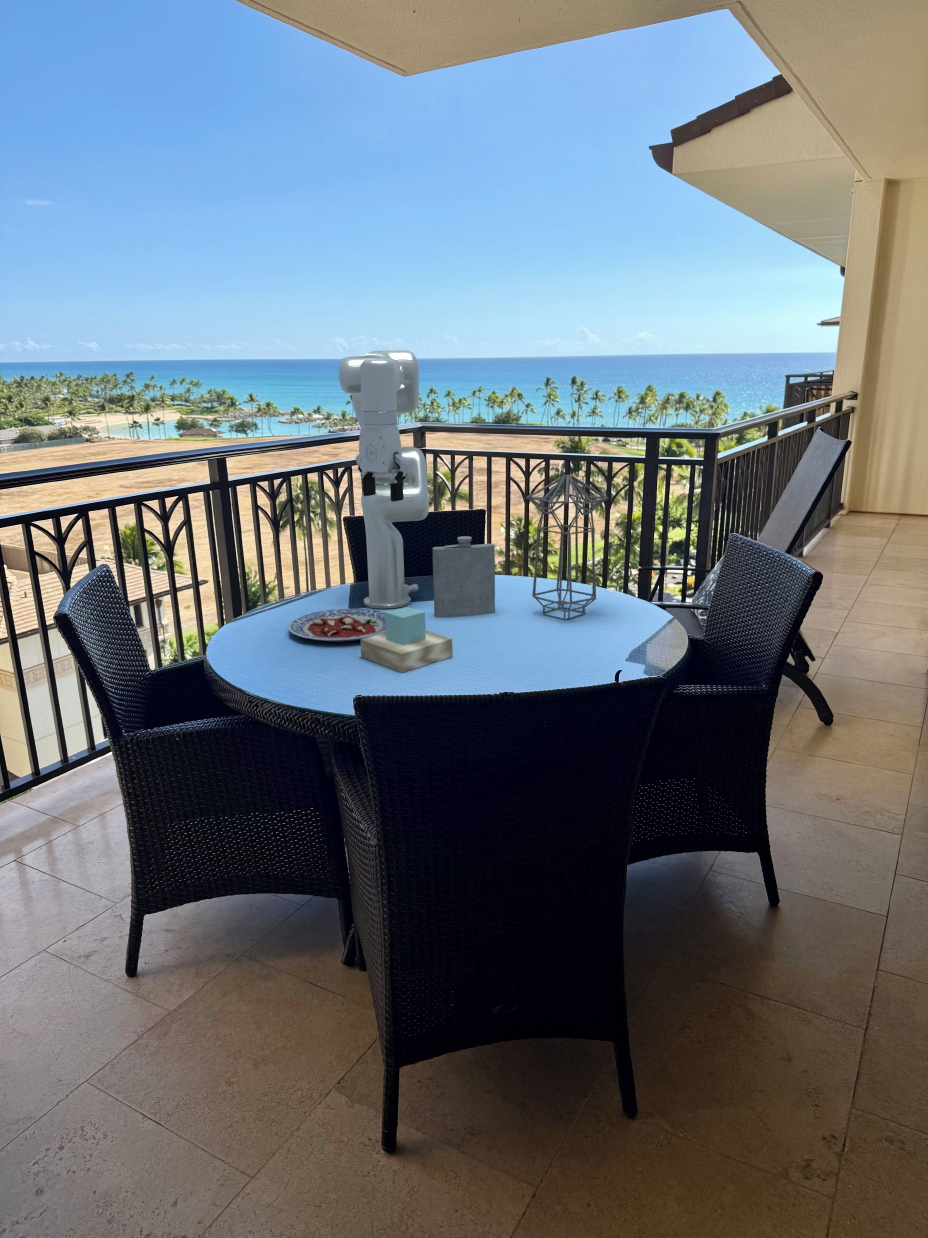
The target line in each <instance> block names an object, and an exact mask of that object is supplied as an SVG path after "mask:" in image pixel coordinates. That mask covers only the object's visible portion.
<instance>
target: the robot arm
mask: <svg viewBox="0 0 928 1238" xmlns="http://www.w3.org/2000/svg"><path fill="white" fill-rule="evenodd" d="M419 368H420V367H419V363H418V359H417V357H416V355H415V354H414V352H412V351H410V350H402V349H401V350H399V349H398V350H373V351H372V350H371V351H370V352H367V353H363V354H361V355H353V356H352V355H351V356H345V357H343V358H342V360H341V361H340V363H339V367H338V381H339V385H340V387H341V389H342V391H343V392H344V393H346V394H348V395H349V394H351V398H352V399H351V400H352V401H351V402H352V407H353V411H354V414H355V417H356V420H357V422H358V426H359V427H360V430H359V440H358V441H359V442H358V455H356V456H355V462H356V465H357V470H358V471H359V473H360V478H361V480H362V493H361V497H360V504H361V505H360V506H361V510H362V513H363V514H362V515H363V520H364V526H365V528H364V529H365V537H366V554H367V555H366V557H367V573H368V574H367V575H368V579H367V580H368V595H369V596H367V597H365V598H364V599H363V605H365V606H366V607H368V608H372V609H381V610H386V609H390V610H391V609H399V608H404V607H407V605H409V604H410V603H412V602H411V601H412V597H410V596H409V594H410V593H414V592H417V591H419V584H417V583H413V584H410V585H408V584H406V583H405V566H404V565H405V564H404V540H403V537H402V534H401V532H400V531H399V530H398V529H397V527H395V526H394V525H393V523H395V522H396V523H397V522H414V521H415V522H417V521H422V520H425V519H426V518H427V516H428V515H429V510H430V502H429V501H430V500H429V499H430V498H429V486H428V473H427V471H428V470H427V463H426V458H425V455H424V453H423V450H421V449H420V448H418V447H414V446H413V447H412V446H411V447H410V446H406V447H405V446H404V447H403V446H402V442H401V436H400V435H401V434H400V429H399V426H398V414H409V413H413V412H414V411H416V410H417V409H418V406H419V400H420V369H419Z"/></svg>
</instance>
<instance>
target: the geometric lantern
mask: <svg viewBox="0 0 928 1238" xmlns="http://www.w3.org/2000/svg"><path fill="white" fill-rule="evenodd" d="M553 485H554V486H553ZM569 485H571V490H572V491H571V492H572V493H569V491H570V490H569V489H570V487H569ZM551 486H553V487H552V488H551V489H550V490H549V491H548V492H547V493H546V494H545V495H544V496H541V497H540V496H535V495H537V494H538V493H541V492H542V491H544V490H546V489H548V488H550V487H551ZM582 486H583V487H585V488H586V489H588V490H590V491H592V492H593V493H594V494H596V495H598V496H590V494H589V493H588V492H587V491H586V490H585V489H584V488H583V487H582ZM564 487H565V493H563V490H564ZM560 488H561V490H560ZM559 490H560V492H558V491H559ZM552 493H553V494H552ZM551 494H552V496H550V495H551ZM563 495H564V496H565V500H559V499H560V498H561V496H563ZM555 498H556V499H555ZM569 498H570V500H572V501H569ZM576 498H577V499H578V500H576ZM548 499H549V500H548ZM554 499H555V500H554ZM609 499H610V498H609V497H608V496H606V495H605V494H603V493H602V492H599V491H598V490H596V489H595V488H593V487H591V486H590V485H588V484H587V483H585V482H584V481H582V480H581V479H580V478H577V477H575V476H574V475H572V474H571V475H570V474H563V476H561V477H559V478H558V479H556V480H554V481H553V482H551V483H549V484H546V485H545V486H543V487H542V488H540V489H538V490H535V491H534V492H533V493H530V494H529V495H527V496H526V500H528V501H529V502H531V504H532V505H533V506H535V507H536V508H537V510H539V511H540V517H539V520H538V524H537V527H536V530H537V531H536V542H535V543H536V544H535V547H536V548H535V563H534V572H533V573H534V575H533V585H532V594H531V596H532V598H534V599H535V600H536V601H537V602H538V603H539V604H540V606H542V613H541V614H542V615H544V616H547V617H550V618H554V619H557V620H558V619H559V620H564V621H569V620H572V619H575V618H578V617H581V616H583V615H586V608H587V606H589V605H591V604H592V603H593V602H594V601H596V600H597V588H596V586H597V585H596V562H595V561H596V560H595V555H596V554H595V551H596V549H595V546H596V545H595V544H596V543H595V540H596V539H595V535H596V534H595V533H596V528H595V524H594V516H593V515H594V514H593V512H594V511H595V510H596V509H597V508H598V507H599V506H600V505H602V504H603V503H604V502H605V501H607V500H609ZM553 500H554V501H553ZM537 501H539V502H537ZM545 503H548V506H546V507H545ZM556 504H557V505H558V504H559V505H558V506H556ZM566 504H573V505H574V507H575V508H576V510H577V512H576V514H575V515H574V517H573V519H572V520H571V521H570V523H569V524H563V523H562V522H561V519H559V517H558V515H557V514H556V511H557V510H558V509H560V508H561V507H563V506H564V505H566ZM585 504H587V505H588V504H589V505H590V507H589V508H587V507H585ZM555 506H556V507H555ZM554 507H555V508H554ZM545 510H548V511H545ZM544 515H551V516H552V518H553V520H554V521H555V524H556V525H550V526H549V525H548V526H542V525H543V518H544ZM586 515H587V517H588V523H589V526H590V527H587V526H586V527H585V526H579V525H575V523H576V522H577V520H578V519H579V517H580V516H586ZM557 527H558V528H559V530H560V531H555V530H549V529H551V528H557ZM564 528H568V529H567V531H564ZM572 528H579V529H585V530H583V531H581V530H580V531H576V532H575V531H574V532H571V529H572ZM547 529H548V530H547ZM586 529H587V530H586ZM541 532H546V533H547V532H548V533H554V534H560V540H559V552H558V553H559V554H558V564H557V565H558V566H557V579H556V588H553V589H549V590H546V591H541V592H537V590H536V589H537V575H538V564H539V563H538V561H539V552H540V544H541V543H540V542H541ZM590 532H591V533H590ZM583 533H584V534H585V533H590V534H591V556H592V557H591V559H592V564H591V565H592V567H591V569H592V577H591V578H592V581H591V582H592V587H591V588H592V593H588V592H584V591H579V590H574V589H572V587H573V584H572V535H575V534H576V535H577V534H583ZM564 535H567V565H566V566H567V569H566V571H567V572H566V588H562V586H563V585H562V584H563V583H562V582H563V561H564V560H563V559H564V558H563V557H564V556H563V555H564ZM554 592H556V593H557V598H558V600H557V601H556V600H552V599H549V598H544V597H540V595H544V594H549V593H554ZM562 592H565V594H564V596H563V599H562ZM568 593H569V601H566V597H567V594H568ZM573 593H575V594H579V595H584V596H590V598H589V597H588V598H584V599H583V598H582V599H578V600H573ZM541 601H544V602H548V603H547V604H546V603H545V604H543V603H542V602H541ZM582 602H585V603H584V604H583V603H582ZM554 604H556V605H557V607H553V606H551V605H554ZM565 605H569V606H568V607H564V606H565ZM572 605H575V606H579V607H574V608H572ZM546 609H550V610H546ZM580 609H582V610H580ZM553 611H560V612H563V617H559V616H556V615H552V614H547V613H550V612H553ZM571 611H573V612H577V613H580V614H577V615H575V616H571V615H570V614H571ZM567 612H568V613H567ZM566 613H567V614H568V615H567V616H568V617H567V618H566Z"/></svg>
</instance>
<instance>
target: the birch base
mask: <svg viewBox="0 0 928 1238" xmlns="http://www.w3.org/2000/svg"><path fill="white" fill-rule="evenodd" d="M425 632H426V639H423V640H420V641H417V642H413V643H410V644H407V645H402V644H399V643H396V642H393V641H390V640H387V639H386V632H385V633H382V634H379V635H375V636H371V637H367V638H364V639H359V640H360V653H361V654H360V657H361V658H363V659H365V660H368V661H371V662H373V663H376V664H379V665H381V666H385V667H387V668H390V669H392V670H396V671H397V672H400V673H406V672H408V671H412V670H415V669H418V668H421V667H424V666H426V665H431V664H433V663H437V662H439V661H442V660H445V659H448V658H453V656H454V655H453V654H454V652H453V638H451V637H448V636H445V635H442V634H438V633H436V632H435V633H434V632H432V631H428V630H425Z"/></svg>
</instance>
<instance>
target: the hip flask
mask: <svg viewBox="0 0 928 1238" xmlns="http://www.w3.org/2000/svg"><path fill="white" fill-rule="evenodd" d="M456 539H457V540H456V541H457V542H458V543H457V544H450V545H444V546H434V547H432V573H433V574H432V575H433V578H432V579H433V580H432V582H433V584H432V585H433V609H434V612H433V613H434V614H433V615H434V616H433V617H435V618H458V617H460V618H461V617H471V616H472V617H473V616H480V615H490V614H494V613H495V612H496V569H495V568H496V558H495V557H496V556H495V555H496V554H495V552H496V547H495V546H496V545H495V543H483V544H472V543H471V542H472V536H469V535H468V536H465V535H463V536H458V537H457V538H456Z"/></svg>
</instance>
